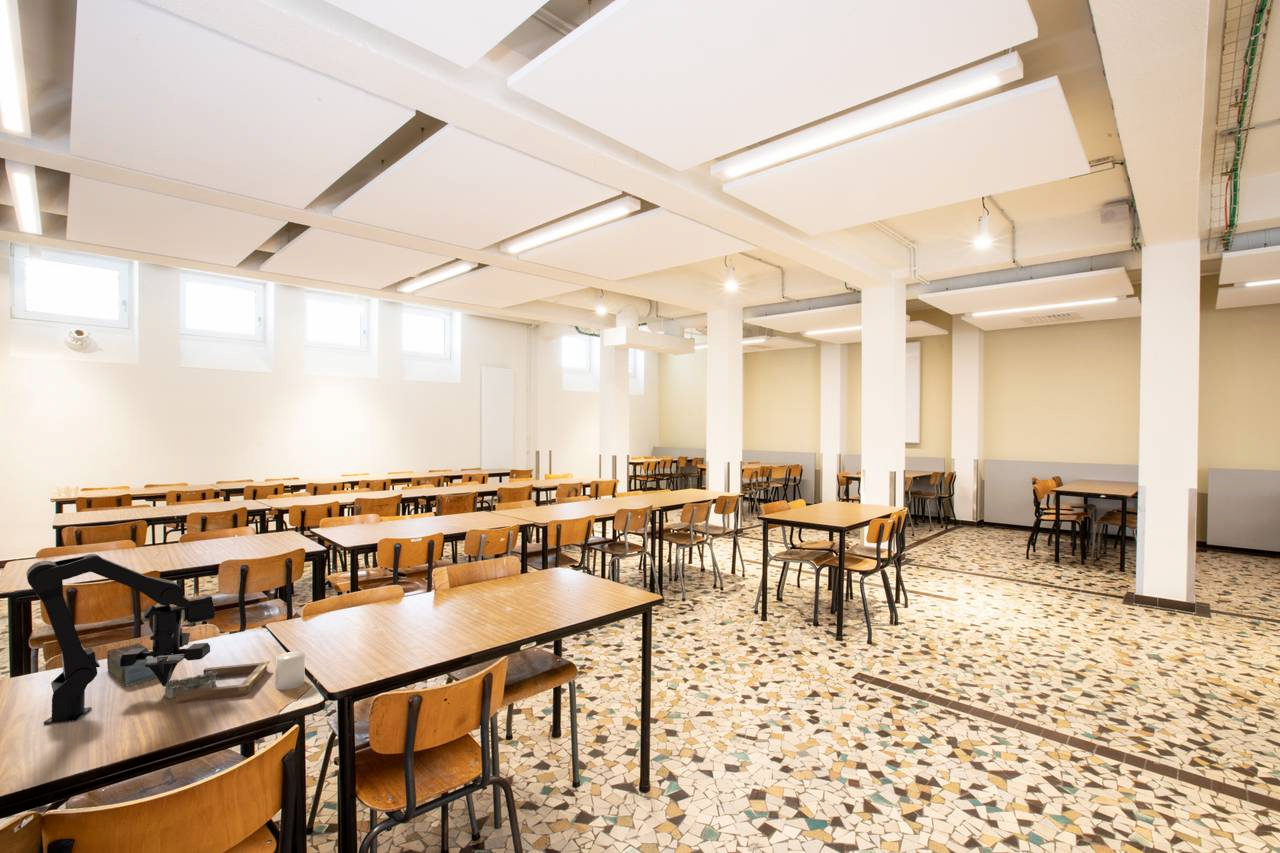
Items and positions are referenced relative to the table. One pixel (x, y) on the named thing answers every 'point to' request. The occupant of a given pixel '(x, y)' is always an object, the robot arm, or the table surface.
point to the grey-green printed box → (128, 667)
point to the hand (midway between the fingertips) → (165, 685)
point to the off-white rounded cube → (290, 670)
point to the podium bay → (226, 691)
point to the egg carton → (190, 683)
